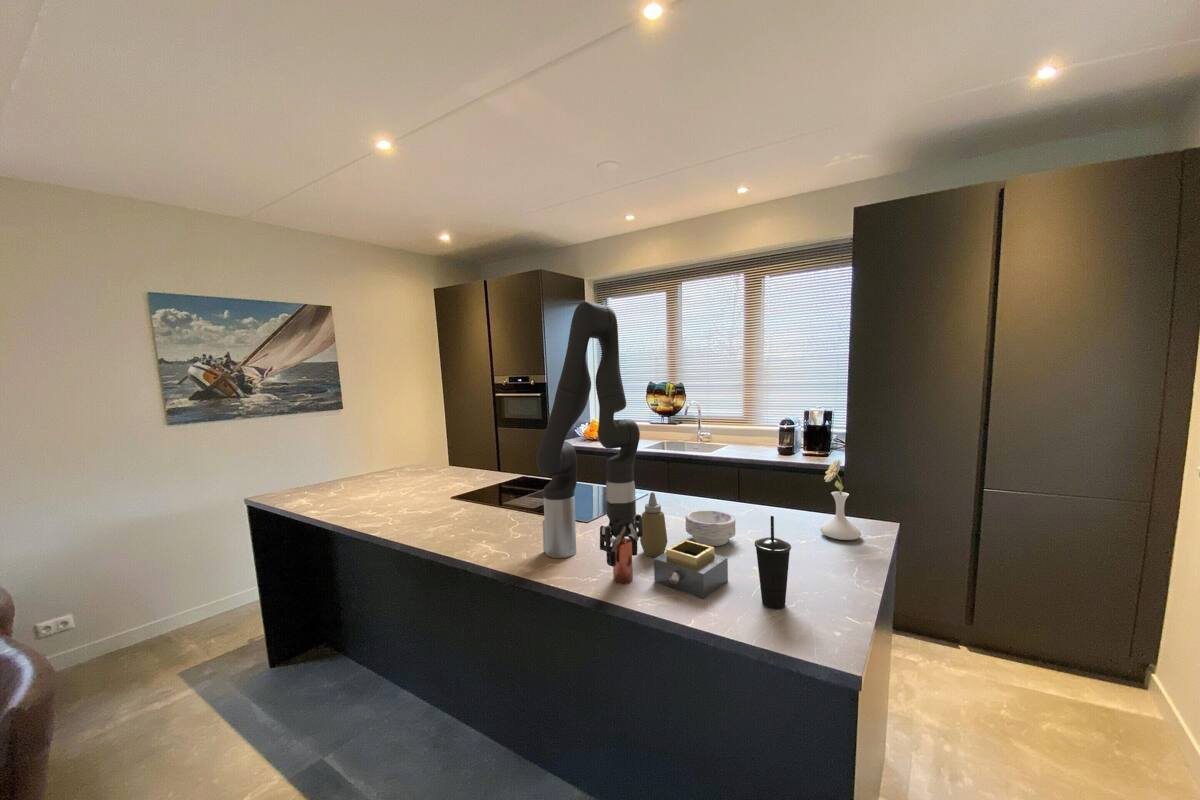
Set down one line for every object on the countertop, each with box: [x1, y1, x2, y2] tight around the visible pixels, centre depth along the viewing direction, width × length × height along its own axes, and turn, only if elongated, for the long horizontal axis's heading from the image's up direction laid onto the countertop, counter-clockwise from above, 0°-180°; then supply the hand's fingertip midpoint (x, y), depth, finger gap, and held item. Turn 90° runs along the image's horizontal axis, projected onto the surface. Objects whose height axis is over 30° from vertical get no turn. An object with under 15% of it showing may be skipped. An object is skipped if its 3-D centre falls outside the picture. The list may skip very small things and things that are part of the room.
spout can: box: [611, 537, 634, 585], centre depth 114 cm, size 5×5×13 cm
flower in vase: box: [819, 459, 862, 541], centre depth 138 cm, size 13×11×25 cm
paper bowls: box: [685, 509, 736, 547], centre depth 139 cm, size 15×15×8 cm
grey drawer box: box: [653, 539, 729, 600], centre depth 111 cm, size 14×14×8 cm
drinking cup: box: [753, 515, 792, 610], centre depth 99 cm, size 8×8×20 cm
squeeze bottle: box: [639, 492, 668, 557], centre depth 130 cm, size 8×8×18 cm
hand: (622, 560), depth 114 cm, fingers open, 8 cm apart
